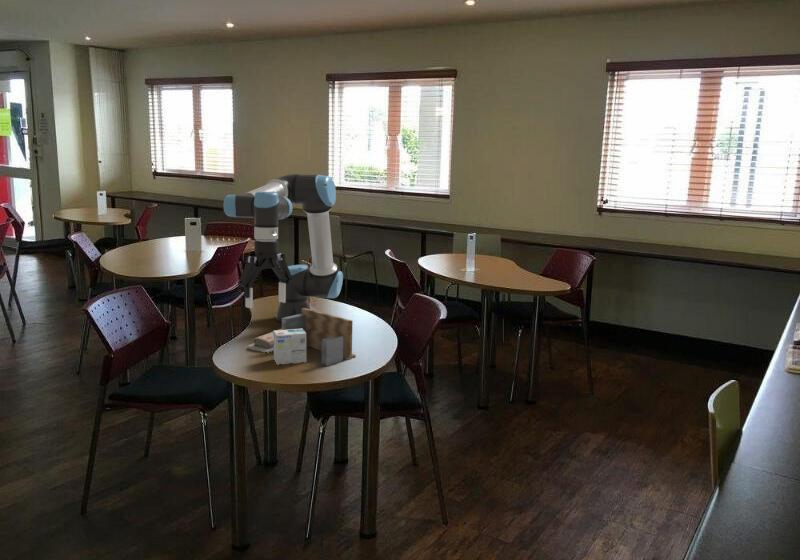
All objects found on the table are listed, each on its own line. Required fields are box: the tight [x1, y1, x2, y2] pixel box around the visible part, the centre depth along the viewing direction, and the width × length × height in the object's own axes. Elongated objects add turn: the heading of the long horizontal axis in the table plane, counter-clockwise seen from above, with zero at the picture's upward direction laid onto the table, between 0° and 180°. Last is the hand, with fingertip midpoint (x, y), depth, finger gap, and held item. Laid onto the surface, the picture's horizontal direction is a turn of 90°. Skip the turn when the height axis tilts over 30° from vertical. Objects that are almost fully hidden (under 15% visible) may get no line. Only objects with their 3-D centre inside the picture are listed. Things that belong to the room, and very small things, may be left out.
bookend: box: [321, 335, 344, 367], centre depth 228 cm, size 2×8×9 cm, turn 140°
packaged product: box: [247, 328, 282, 354], centre depth 246 cm, size 18×5×10 cm
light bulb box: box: [272, 328, 307, 366], centre depth 228 cm, size 11×7×11 cm, turn 111°
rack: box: [281, 308, 357, 360], centre depth 237 cm, size 25×13×14 cm, turn 50°
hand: (265, 304), depth 215 cm, fingers open, 13 cm apart
